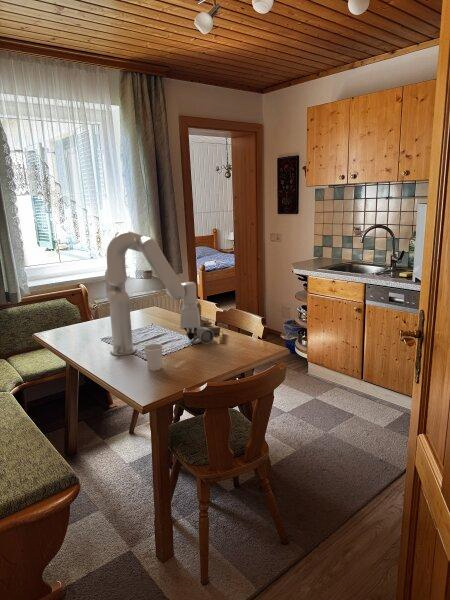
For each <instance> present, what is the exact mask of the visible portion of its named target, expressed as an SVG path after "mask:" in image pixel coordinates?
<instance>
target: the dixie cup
mask: <svg viewBox="0 0 450 600" xmlns="http://www.w3.org/2000/svg"><path fill="white" fill-rule="evenodd" d="M163 348H164V345H162V344H160V343H149V344H147V345H145V346H144V347H143V350H144V353H145V359H146V362H147V368H148V370H149V371H154V372H155V371H159V370H161V369H162V363H163V361H162V360H163Z"/></svg>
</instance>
